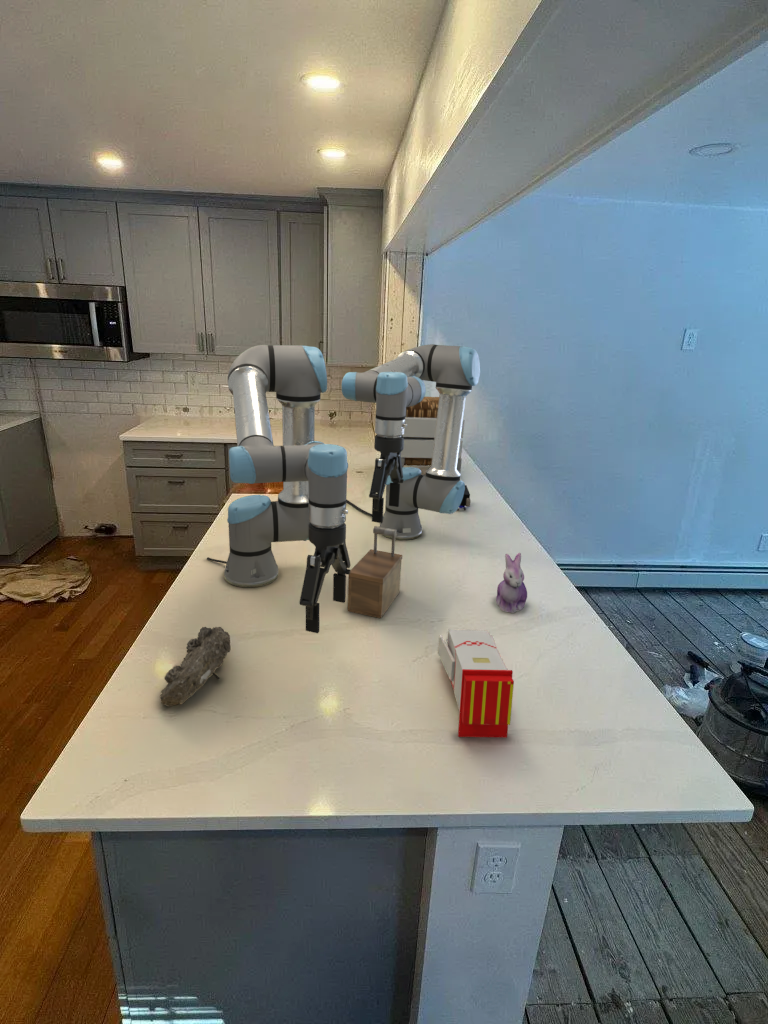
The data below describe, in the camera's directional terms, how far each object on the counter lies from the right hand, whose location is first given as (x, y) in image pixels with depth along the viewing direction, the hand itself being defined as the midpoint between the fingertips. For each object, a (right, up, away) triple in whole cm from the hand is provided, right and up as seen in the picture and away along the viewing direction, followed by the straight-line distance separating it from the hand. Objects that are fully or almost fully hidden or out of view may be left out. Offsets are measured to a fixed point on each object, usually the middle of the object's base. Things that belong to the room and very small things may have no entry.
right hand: (385, 513), depth 151 cm
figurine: (+34, -25, +3) cm, 42 cm away
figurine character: (+30, +3, +80) cm, 85 cm away
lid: (-3, -14, -1) cm, 14 cm away
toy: (+17, -37, -32) cm, 52 cm away
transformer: (+17, +19, +124) cm, 127 cm away
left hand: (-13, -22, -30) cm, 39 cm away
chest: (-3, -24, +2) cm, 24 cm away
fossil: (-39, -34, -32) cm, 61 cm away
